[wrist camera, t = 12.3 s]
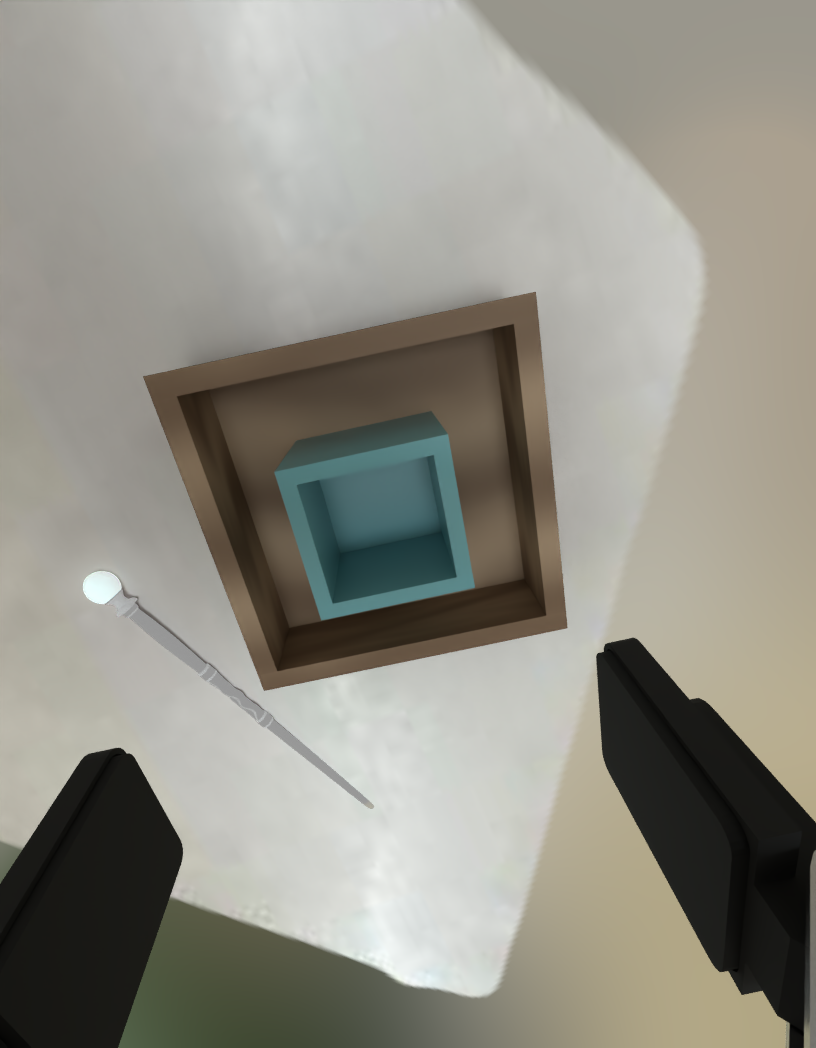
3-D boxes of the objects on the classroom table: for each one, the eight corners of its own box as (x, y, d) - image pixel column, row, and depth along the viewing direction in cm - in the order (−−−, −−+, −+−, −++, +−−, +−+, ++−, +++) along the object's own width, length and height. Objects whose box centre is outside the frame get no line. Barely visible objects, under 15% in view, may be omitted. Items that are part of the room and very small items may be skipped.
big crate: (186, 367, 25) (143, 376, 20) (504, 299, 24) (535, 291, 20) (280, 635, 30) (264, 690, 26) (537, 582, 30) (567, 628, 26)
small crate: (296, 440, 25) (274, 472, 20) (431, 410, 25) (448, 434, 20) (331, 562, 28) (321, 620, 22) (454, 535, 28) (474, 587, 22)
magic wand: (370, 793, 38) (360, 817, 36) (95, 568, 29) (71, 590, 28) (386, 795, 36) (376, 820, 35) (105, 561, 28) (79, 584, 27)
